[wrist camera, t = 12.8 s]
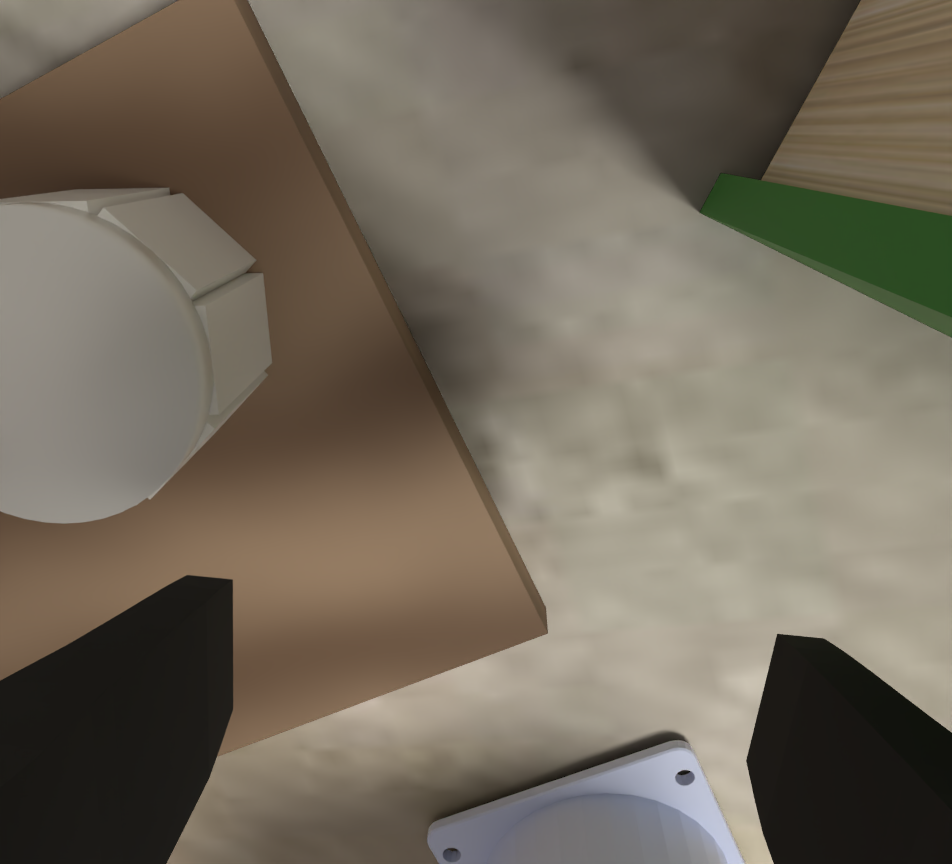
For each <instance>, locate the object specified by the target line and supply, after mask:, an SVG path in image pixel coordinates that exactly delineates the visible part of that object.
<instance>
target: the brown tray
mask: <svg viewBox="0 0 952 864" xmlns="http://www.w3.org/2000/svg"><path fill="white" fill-rule="evenodd" d="M122 188H169V190H170V195H175V194H180V193H183V194H184V195H186V196H187V197H188V198H189V199H190V200H191V201H192V202H193V203H194V204H195V205H197V206H198V207H199V208H200V209H201V210H202V211H203V212H204V213H205V214H206V215H207V216H209V217H210V218H211V219H212V220H213V221H214V222H215V223H216V224H217V225H218V226H220V227H221V228H222V229H223V230H224V231H225V232H226V233H227V234H228V235H229V236H231V237H232V238H233V239H234V240H235V241H236V242H237V243H238V244H239V245H240V246H242V247H243V248H244V249H245V250H246V251H247V252H248V253H249V254H250V255H251V256H252V257H254V258H255V259H256V261H255V263H254V264H253V265H252V266H251V267H250V268H249V269H248V271H247V272H246V273H263V278H264V287H265V297H266V307H267V317H268V327H269V337H270V347H271V356H272V364H271V365H270V366H269V367H267V368H266V369H265V370H264V371H265V372H266V373H267V374H268V376H267V377H266V378H265V379H264V380H263V381H262V382H261V383H260V385H259V386H258V387H257V388H256V389H255V390H254V391H253V392H252V393H251V394H250V395H249V397H248V398H247V399H246V400H245V401H244V402H243V403H242V404H241V405H240V406H239V408H238V409H237V410H236V411H235V412H234V413H233V414H232V415H231V416H230V417H229V419H228V420H227V421H226V422H225V423H224V424H223V425H222V426H221V427H220V428H219V429H218V431H217V432H216V433H215V434H214V435H213V436H212V437H211V438H210V439H209V440H208V441H207V442H206V443H205V444H204V445H203V446H202V447H201V448H200V449H199V450H198V451H197V452H196V453H195V454H194V455H193V456H192V457H191V458H190V459H189V460H188V462H187V463H186V464H185V465H184V466H183V467H182V468H181V469H180V470H179V471H178V472H177V473H176V474H175V475H174V476H173V477H172V478H171V479H170V480H169V481H168V482H167V483H166V484H165V485H164V486H163V487H162V488H161V489H160V490H159V491H158V492H157V493H156V494H155V495H154V496H153V497H152V498H151V499H148V498H146V499H144V500H143V501H141V502H140V503H139V504H138V505H135V506H133V507H131V508H129V509H127V510H125V511H123V512H121V513H118V514H115V515H112V516H109V517H107V518H104V519H99V520H94V521H88V522H82V523H66V524H63V523H46V522H39V521H34V520H28V519H23V518H20V517H16V516H13V515H10V514H6V513H3V512H1V511H0V680H2V679H4V678H6V677H8V676H9V675H11V674H13V673H15V672H17V671H19V670H21V669H23V668H24V667H26V666H28V665H30V664H32V663H34V662H36V661H38V660H39V659H41V658H43V657H45V656H47V655H49V654H51V653H53V652H55V651H56V650H58V649H60V648H62V647H64V646H66V645H68V644H69V643H71V642H73V641H75V640H76V639H78V638H80V637H81V636H83V635H85V634H86V633H88V632H90V631H92V630H93V629H95V628H97V627H98V626H100V625H102V624H103V623H105V622H107V621H109V620H110V619H112V618H114V617H115V616H117V615H119V614H120V613H122V612H124V611H125V610H127V609H129V608H130V607H132V606H134V605H135V604H137V603H139V602H140V601H142V600H144V599H145V598H147V597H149V596H150V595H152V594H154V593H155V592H157V591H159V590H160V589H162V588H164V587H166V586H167V585H169V584H171V583H173V582H174V581H176V580H178V579H180V578H182V577H184V576H186V575H193V576H203V577H213V578H223V579H233V712H232V715H231V717H230V720H229V723H228V726H227V729H226V732H225V735H224V738H223V741H222V744H221V747H220V750H219V752H218V755H217V756H220V755H223V754H225V753H228V752H231V751H233V750H236V749H239V748H241V747H244V746H247V745H250V744H252V743H255V742H258V741H260V740H263V739H266V738H268V737H271V736H274V735H276V734H279V733H282V732H284V731H287V730H290V729H292V728H295V727H298V726H301V725H303V724H306V723H309V722H311V721H314V720H317V719H319V718H322V717H325V716H327V715H330V714H333V713H335V712H338V711H341V710H343V709H346V708H349V707H352V706H354V705H357V704H360V703H362V702H365V701H368V700H370V699H373V698H376V697H378V696H381V695H384V694H386V693H389V692H392V691H394V690H397V689H400V688H403V687H405V686H408V685H411V684H413V683H416V682H419V681H421V680H424V679H427V678H429V677H432V676H435V675H437V674H440V673H443V672H445V671H448V670H451V669H454V668H456V667H459V666H462V665H464V664H467V663H470V662H472V661H475V660H478V659H480V658H483V657H486V656H488V655H491V654H494V653H496V652H499V651H502V650H505V649H507V648H510V647H513V646H515V645H518V644H521V643H523V642H526V641H529V640H531V639H534V638H537V637H539V636H542V635H545V634H547V633H548V629H547V617H546V607H545V605H544V603H543V601H542V599H541V597H540V595H539V593H538V591H537V589H536V587H535V585H534V583H533V581H532V579H531V577H530V575H529V573H528V571H527V569H526V566H525V564H524V562H523V560H522V558H521V556H520V554H519V552H518V550H517V548H516V546H515V544H514V542H513V540H512V538H511V536H510V534H509V532H508V530H507V528H506V526H505V524H504V522H503V520H502V518H501V516H500V514H499V512H498V509H497V507H496V505H495V503H494V501H493V499H492V497H491V495H490V493H489V491H488V489H487V487H486V485H485V483H484V481H483V479H482V477H481V475H480V473H479V471H478V469H477V467H476V465H475V463H474V461H473V459H472V457H471V455H470V452H469V450H468V448H467V446H466V444H465V442H464V440H463V438H462V436H461V434H460V432H459V430H458V428H457V426H456V424H455V422H454V420H453V418H452V416H451V414H450V412H449V410H448V408H447V406H446V404H445V402H444V400H443V398H442V395H441V393H440V391H439V389H438V387H437V385H436V383H435V381H434V379H433V377H432V375H431V373H430V371H429V369H428V367H427V365H426V363H425V361H424V359H423V357H422V355H421V353H420V351H419V349H418V347H417V345H416V343H415V341H414V338H413V336H412V334H411V332H410V330H409V328H408V326H407V324H406V322H405V320H404V318H403V316H402V314H401V312H400V310H399V308H398V306H397V304H396V302H395V300H394V298H393V296H392V294H391V292H390V290H389V288H388V286H387V284H386V281H385V279H384V277H383V275H382V273H381V271H380V269H379V267H378V265H377V263H376V261H375V259H374V257H373V255H372V253H371V251H370V249H369V247H368V245H367V243H366V241H365V239H364V237H363V235H362V233H361V231H360V229H359V227H358V224H357V222H356V220H355V218H354V216H353V214H352V212H351V210H350V208H349V206H348V204H347V202H346V200H345V198H344V196H343V194H342V192H341V190H340V188H339V186H338V184H337V182H336V180H335V178H334V176H333V174H332V172H331V170H330V167H329V165H328V163H327V161H326V159H325V157H324V155H323V153H322V151H321V149H320V147H319V145H318V143H317V141H316V139H315V137H314V135H313V133H312V131H311V129H310V127H309V125H308V123H307V121H306V119H305V117H304V115H303V113H302V110H301V108H300V106H299V104H298V102H297V100H296V98H295V96H294V94H293V92H292V90H291V88H290V86H289V84H288V82H287V80H286V78H285V76H284V74H283V72H282V70H281V68H280V66H279V64H278V62H277V60H276V58H275V55H274V53H273V51H272V49H271V47H270V45H269V43H268V41H267V39H266V37H265V35H264V33H263V31H262V29H261V27H260V25H259V23H258V21H257V19H256V17H255V15H254V13H253V11H252V9H251V7H250V5H249V3H248V1H247V0H178V1H177V2H175V3H173V4H171V5H169V6H168V7H166V8H164V9H162V10H160V11H159V12H157V13H155V14H153V15H151V16H150V17H148V18H146V19H144V20H142V21H141V22H139V23H137V24H135V25H133V26H131V27H130V28H128V29H126V30H124V31H122V32H121V33H119V34H117V35H115V36H113V37H112V38H110V39H108V40H106V41H104V42H103V43H101V44H99V45H97V46H95V47H94V48H92V49H90V50H88V51H86V52H85V53H83V54H81V55H79V56H77V57H75V58H74V59H72V60H70V61H68V62H66V63H65V64H63V65H61V66H59V67H57V68H56V69H54V70H52V71H50V72H48V73H47V74H45V75H43V76H41V77H39V78H38V79H36V80H34V81H32V82H30V83H28V84H27V85H25V86H23V87H21V88H19V89H18V90H16V91H14V92H12V93H10V94H9V95H7V96H5V97H3V98H1V99H0V199H5V198H13V197H20V196H28V195H36V194H43V193H51V192H59V191H67V190H74V189H122Z"/></svg>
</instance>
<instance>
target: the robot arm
mask: <svg viewBox="0 0 952 864" xmlns="http://www.w3.org/2000/svg"><path fill="white" fill-rule="evenodd" d="M232 712H233V579H223V578H213V577H203V576H193V575H186V576H184V577H182V578H180V579H178V580H176V581H174V582H173V583H171V584H169V585H167V586H166V587H164V588H162V589H160V590H159V591H157V592H155V593H154V594H152V595H150V596H149V597H147V598H145V599H144V600H142V601H140V602H139V603H137V604H135V605H134V606H132V607H130V608H129V609H127V610H125V611H124V612H122V613H120V614H119V615H117V616H115V617H114V618H112V619H110V620H109V621H107V622H105V623H103V624H102V625H100V626H98V627H97V628H95V629H93V630H92V631H90V632H88V633H86V634H85V635H83V636H81V637H80V638H78V639H76V640H75V641H73V642H71V643H69V644H68V645H66V646H64V647H62V648H60V649H58V650H56V651H55V652H53V653H51V654H49V655H47V656H45V657H43V658H41V659H39V660H38V661H36V662H34V663H32V664H30V665H28V666H26V667H24V668H23V669H21V670H19V671H17V672H15V673H13V674H11V675H9V676H8V677H6V678H4V679H2V680H0V864H166V863H167V861H168V859H169V857H170V855H171V853H172V851H173V849H174V847H175V845H176V843H177V841H178V839H179V837H180V835H181V833H182V831H183V829H184V827H185V825H186V823H187V821H188V819H189V817H190V815H191V813H192V811H193V810H194V808H195V806H196V804H197V802H198V800H199V798H200V796H201V793H202V791H203V789H204V787H205V785H206V783H207V781H208V779H209V777H210V774H211V771H212V769H213V766H214V763H215V760H216V758H217V755H218V752H219V750H220V747H221V744H222V741H223V738H224V735H225V732H226V729H227V726H228V723H229V720H230V717H231V715H232ZM746 761H747V766H748V770H749V775H750V780H751V784H752V789H753V794H754V798H755V803H756V807H757V811H758V815H759V819H760V823H761V827H762V831H763V835H764V837H765V840H766V843H767V846H768V849H769V851H770V854H771V857H772V860H773V862H774V864H952V733H951V732H950V731H949V730H947V729H946V728H945V727H943V726H942V725H941V724H939V723H938V722H937V721H935V720H934V719H933V718H931V717H930V716H929V715H927V714H926V713H925V712H923V711H922V710H921V709H919V708H918V707H917V706H915V705H914V704H913V703H912V702H910V701H909V700H908V699H906V698H905V697H904V696H902V695H901V694H900V693H898V692H897V691H896V690H895V689H893V688H892V687H891V686H889V685H888V684H887V683H885V682H884V681H883V680H881V679H880V678H879V677H878V676H876V675H875V674H874V673H872V672H871V671H870V670H868V669H867V668H866V667H864V666H863V665H862V664H860V663H859V662H858V661H856V660H855V659H854V658H852V657H851V656H849V655H848V654H847V653H845V652H844V651H842V650H841V649H839V648H838V647H836V646H835V645H833V644H832V643H830V642H829V641H827V640H825V639H823V638H813V637H803V636H793V635H783V634H777V638H776V642H775V646H774V650H773V654H772V658H771V662H770V666H769V670H768V674H767V678H766V683H765V687H764V691H763V695H762V699H761V703H760V707H759V711H758V715H757V719H756V723H755V728H754V732H753V736H752V740H751V744H750V748H749V752H748V756H747V760H746ZM681 770H689V771H690V772H689V773H688V774H686V775H678V774H677V773H678V772H680V771H681ZM427 843H428V846H429V848H430V849H431V851H432V853H433V854H434V856H435V858H436V859H437V861H438V863H439V864H746V863H745V861H744V859H743V857H742V854H741V852H740V850H739V848H738V846H737V843H736V841H735V839H734V837H733V835H732V832H731V830H730V828H729V826H728V824H727V822H726V819H725V817H724V815H723V813H722V811H721V808H720V806H719V804H718V802H717V800H716V797H715V795H714V793H713V791H712V789H711V786H710V784H709V782H708V780H707V778H706V775H705V773H704V771H703V769H702V767H701V765H700V762H699V760H698V758H697V756H696V754H695V751H694V749H693V748H692V747H691V745H690V744H688V743H686V742H685V741H680V740H674V741H669V742H666V743H663V744H660V745H657V746H654V747H651V748H648V749H645V750H642V751H639V752H636V753H633V754H631V755H628V756H625V757H622V758H619V759H616V760H613V761H610V762H607V763H604V764H601V765H598V766H595V767H592V768H589V769H586V770H584V771H581V772H578V773H575V774H572V775H569V776H566V777H563V778H560V779H557V780H554V781H551V782H548V783H545V784H542V785H539V786H537V787H534V788H531V789H528V790H525V791H522V792H519V793H516V794H513V795H510V796H507V797H504V798H501V799H498V800H495V801H492V802H489V803H487V804H484V805H481V806H478V807H475V808H472V809H469V810H466V811H463V812H460V813H457V814H454V815H451V816H448V817H445V818H442V819H440V820H437V821H435V822H433V823H432V824H431V825H430V827H429V830H428V836H427ZM447 848H455V849H458V850H457V851H450V850H447Z"/></svg>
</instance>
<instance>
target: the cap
mask: <svg viewBox="0 0 952 864" xmlns="http://www.w3.org/2000/svg"><path fill="white" fill-rule="evenodd" d="M255 261H256V259H255V258H254V257H252V256H251V255H250V254H249V253H248V252H247V251H246V250H245V249H244V248H243V247H242V246H240V245H239V244H238V243H237V242H236V241H235V240H234V239H233V238H232V237H231V236H229V235H228V234H227V233H226V232H225V231H224V230H223V229H222V228H221V227H220V226H218V225H217V224H216V223H215V222H214V221H213V220H212V219H211V218H210V217H209V216H207V215H206V214H205V213H204V212H203V211H202V210H201V209H200V208H199V207H198V206H197V205H195V204H194V203H193V202H192V201H191V200H190V199H189V198H188V197H187V196H186V195H184V194H183V193H180V194H175V195H170V190H169V188H122V189H74V190H67V191H59V192H51V193H43V194H36V195H28V196H20V197H13V198H5V199H0V511H1V512H3V513H6V514H10V515H13V516H16V517H20V518H23V519H28V520H34V521H39V522H46V523H63V524H66V523H82V522H88V521H94V520H99V519H104V518H107V517H109V516H112V515H115V514H118V513H121V512H123V511H125V510H127V509H129V508H131V507H133V506H135V505H138V504H139V503H140V502H141V501H143V500H144V499H146V498H148V499H151V498H152V497H153V496H154V495H155V494H156V493H157V492H158V491H159V490H160V489H161V488H162V487H163V486H164V485H165V484H166V483H167V482H168V481H169V480H170V479H171V478H172V477H173V476H174V475H175V474H176V473H177V472H178V471H179V470H180V469H181V468H182V467H183V466H184V465H185V464H186V463H187V462H188V460H189V459H190V458H191V457H192V456H193V455H194V454H195V453H196V452H197V451H198V450H199V449H200V448H201V447H202V446H203V445H204V444H205V443H206V442H207V441H208V440H209V439H210V438H211V437H212V436H213V435H214V434H215V433H216V432H217V431H218V429H219V428H220V427H221V426H222V425H223V424H224V423H225V422H226V421H227V420H228V419H229V417H230V416H231V415H232V414H233V413H234V412H235V411H236V410H237V409H238V408H239V406H240V405H241V404H242V403H243V402H244V401H245V400H246V399H247V398H248V397H249V395H250V394H251V393H252V392H253V391H254V390H255V389H256V388H257V387H258V386H259V385H260V383H261V382H262V381H263V380H264V379H265V378H266V377H267V376H268V374H267V373H266V372H265V371H264V370H265V369H266V368H267V367H269V366H270V365H271V364H272V356H271V347H270V337H269V327H268V317H267V307H266V297H265V287H264V278H263V273H246V272H247V271H248V269H249V268H250V267H251V266H252V265H253V264H254V263H255Z"/></svg>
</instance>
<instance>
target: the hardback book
mask: <svg viewBox="0 0 952 864" xmlns="http://www.w3.org/2000/svg"><path fill="white" fill-rule="evenodd" d="M700 213H701V214H703V215H705V216H707V217H709V218H711V219H714V220H716V221H718V222H720V223H722V224H724V225H726V226H728V227H730V228H732V229H734V230H736V231H738V232H740V233H742V234H744V235H746V236H748V237H750V238H752V239H754V240H756V241H758V242H760V243H762V244H764V245H766V246H768V247H770V248H772V249H774V250H776V251H778V252H780V253H782V254H784V255H786V256H788V257H790V258H792V259H794V260H796V261H798V262H800V263H802V264H804V265H806V266H808V267H810V268H812V269H814V270H816V271H818V272H820V273H822V274H824V275H827V276H829V277H831V278H833V279H835V280H837V281H839V282H841V283H843V284H845V285H847V286H849V287H851V288H853V289H855V290H857V291H859V292H861V293H863V294H865V295H867V296H869V297H871V298H873V299H875V300H877V301H879V302H881V303H883V304H885V305H887V306H889V307H891V308H893V309H895V310H897V311H899V312H901V313H903V314H905V315H907V316H909V317H911V318H913V319H915V320H917V321H919V322H921V323H923V324H925V325H927V326H929V327H931V328H933V329H935V330H937V331H940V332H942V333H944V334H946V335H948V336H950V337H952V0H861V1H860V3H859V5H858V7H857V8H856V10H855V12H854V14H853V16H852V17H851V19H850V21H849V23H848V25H847V26H846V28H845V30H844V32H843V34H842V35H841V37H840V39H839V41H838V43H837V44H836V46H835V48H834V50H833V52H832V53H831V55H830V57H829V59H828V61H827V62H826V64H825V66H824V68H823V70H822V71H821V73H820V75H819V77H818V78H817V80H816V82H815V84H814V86H813V87H812V89H811V91H810V93H809V95H808V96H807V98H806V100H805V102H804V104H803V105H802V107H801V109H800V111H799V113H798V114H797V116H796V118H795V120H794V122H793V123H792V125H791V127H790V129H789V131H788V132H787V134H786V136H785V138H784V140H783V141H782V143H781V145H780V147H779V149H778V150H777V152H776V154H775V156H774V158H773V159H772V161H771V163H770V165H769V167H768V168H767V170H766V172H765V174H764V176H763V177H762V179H761V180H756V179H751V178H746V177H740V176H735V175H730V174H724V173H721V174H720V175H719V177H718V179H717V181H716V183H715V185H714V187H713V188H712V190H711V192H710V194H709V196H708V198H707V200H706V201H705V203H704V205H703V207H702V209H701V211H700Z"/></svg>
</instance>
